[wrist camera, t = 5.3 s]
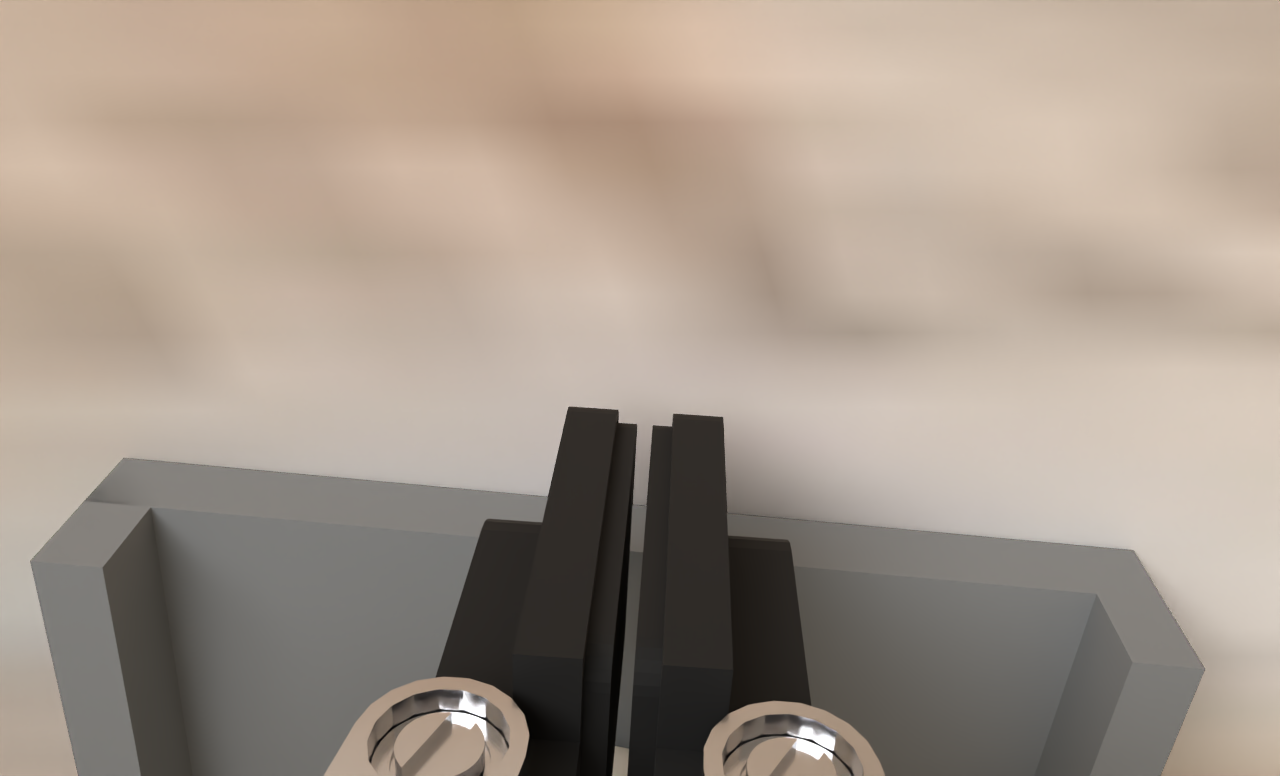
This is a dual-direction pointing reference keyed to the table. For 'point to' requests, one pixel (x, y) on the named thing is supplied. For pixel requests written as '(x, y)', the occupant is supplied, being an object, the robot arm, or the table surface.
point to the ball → (620, 761)
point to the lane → (436, 573)
